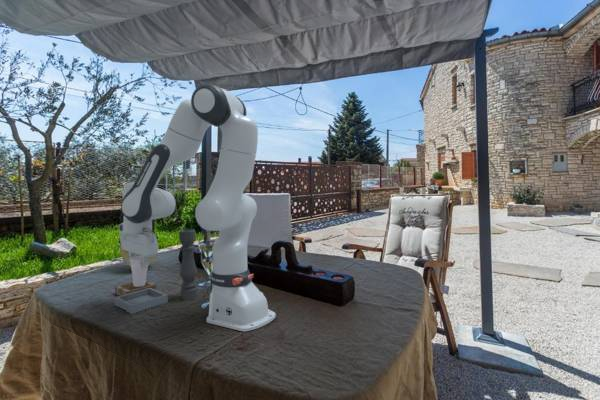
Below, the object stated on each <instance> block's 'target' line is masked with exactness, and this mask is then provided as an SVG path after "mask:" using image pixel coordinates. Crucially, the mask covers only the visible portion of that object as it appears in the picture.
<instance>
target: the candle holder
mask: <svg viewBox="0 0 600 400" xmlns="http://www.w3.org/2000/svg"><path fill="white" fill-rule="evenodd" d="M178 240H179V242H180V244H181V246H180V248H179V249H180V251H181V252H182V254H181V255H182V261H181V265H180V269H179V270H180V271H179V275H180V277H181V279H182V283H181V285H180V287H181V288H180V290H179V291H180V299H181V300H182V301H191V300H194V299H197V298H198V297H199V288H198V286H197V285H198V283H197V281H196V277H197V276H198V269H197V266H196V262H195V257H194V255H195V254H194V250H195V249H196V246H195V245H194V244H195V240H196V230H195V229H181V230H179V231H178Z"/></svg>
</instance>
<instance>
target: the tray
mask: <svg viewBox="0 0 600 400" xmlns="http://www.w3.org/2000/svg"><path fill="white" fill-rule="evenodd" d="M168 296H169V295H168V294H167V293H164V292H162V291H159V290H157V289H156V290H155V289H152V288H147V289H144V290H140V291H136V292H133V293H129V294H126V295H122V296H118V295H117V296H115V297H114V306H115V307H118V308H119V307H120V309H121V308H122V309H121V310H123V309H124V311H125V310H126V311H125V312H127V313H129V314H131V315H134V314H137V313H139V311H140V312H143V311H145V309H146V310H149V309H151V307H152V308H154V306H155V307H158V306H161V305H164V304H168V302H169V297H168ZM157 305H158V306H157ZM148 308H149V309H148ZM142 310H143V311H142ZM136 312H137V313H136ZM133 313H134V314H133Z"/></svg>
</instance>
